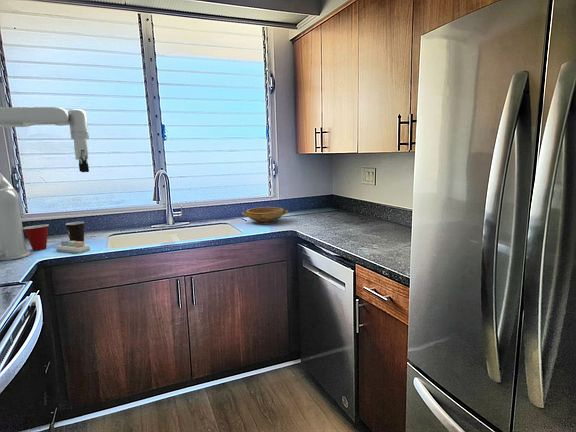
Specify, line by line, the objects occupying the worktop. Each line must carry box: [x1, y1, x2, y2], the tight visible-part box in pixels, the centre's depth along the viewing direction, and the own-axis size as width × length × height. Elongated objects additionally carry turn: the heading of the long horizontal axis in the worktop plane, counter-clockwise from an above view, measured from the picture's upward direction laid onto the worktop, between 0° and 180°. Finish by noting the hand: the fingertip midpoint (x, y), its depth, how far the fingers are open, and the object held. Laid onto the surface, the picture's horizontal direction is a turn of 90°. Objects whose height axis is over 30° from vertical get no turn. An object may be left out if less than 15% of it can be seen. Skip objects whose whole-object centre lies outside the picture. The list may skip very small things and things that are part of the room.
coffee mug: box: [65, 221, 85, 242], centre depth 194 cm, size 12×9×10 cm
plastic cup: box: [23, 223, 50, 251], centre depth 182 cm, size 11×11×12 cm
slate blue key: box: [60, 239, 70, 246], centre depth 179 cm, size 2×3×2 cm
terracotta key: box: [75, 241, 85, 247], centre depth 176 cm, size 2×3×2 cm
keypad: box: [56, 244, 91, 254], centre depth 178 cm, size 6×15×2 cm, turn 68°
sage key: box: [68, 241, 77, 246], centre depth 177 cm, size 2×3×2 cm
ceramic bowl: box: [241, 206, 289, 225], centre depth 235 cm, size 30×24×8 cm
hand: (84, 171), depth 181 cm, fingers open, 9 cm apart
